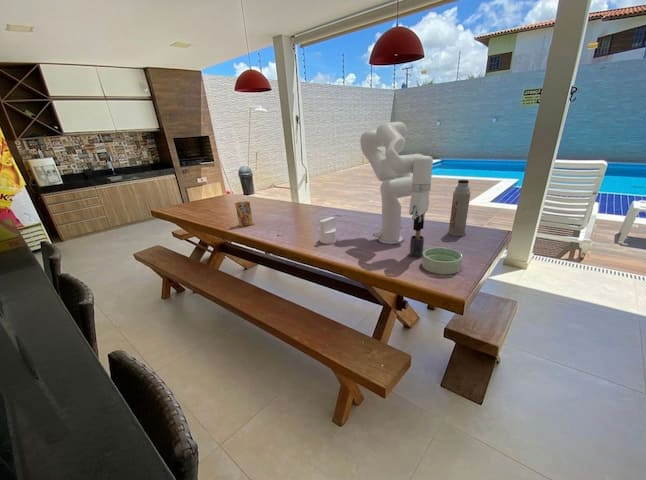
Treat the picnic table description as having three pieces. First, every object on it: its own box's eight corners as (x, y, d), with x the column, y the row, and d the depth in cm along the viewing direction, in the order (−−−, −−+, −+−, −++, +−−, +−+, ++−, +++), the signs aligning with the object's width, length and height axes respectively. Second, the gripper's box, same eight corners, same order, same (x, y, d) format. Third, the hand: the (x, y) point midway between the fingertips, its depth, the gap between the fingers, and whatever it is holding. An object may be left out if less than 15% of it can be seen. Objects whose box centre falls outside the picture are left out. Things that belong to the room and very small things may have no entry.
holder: (410, 258, 139) (411, 239, 136) (409, 253, 145) (410, 235, 141) (423, 258, 138) (424, 239, 135) (421, 253, 144) (423, 235, 140)
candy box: (253, 222, 203) (249, 200, 197) (253, 224, 200) (249, 201, 193) (239, 224, 202) (235, 201, 195) (239, 226, 198) (234, 202, 192)
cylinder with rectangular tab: (328, 236, 171) (327, 215, 166) (340, 240, 165) (339, 218, 160) (316, 241, 166) (315, 219, 160) (328, 245, 160) (327, 222, 155)
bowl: (424, 275, 124) (425, 261, 121) (419, 259, 137) (420, 247, 135) (464, 276, 121) (466, 262, 119) (456, 260, 135) (457, 247, 132)
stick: (414, 255, 140) (417, 217, 133) (413, 254, 142) (416, 216, 134) (418, 255, 140) (421, 217, 132) (418, 254, 142) (421, 216, 134)
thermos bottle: (452, 236, 160) (459, 182, 148) (445, 231, 168) (452, 179, 155) (467, 235, 161) (475, 181, 149) (460, 230, 168) (467, 178, 156)
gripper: (420, 183, 136) (417, 223, 143) (404, 190, 125) (402, 233, 133) (437, 184, 131) (433, 225, 139) (422, 191, 120) (418, 236, 128)
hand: (418, 229), depth 136 cm, fingers closed on stick, 2 cm apart
